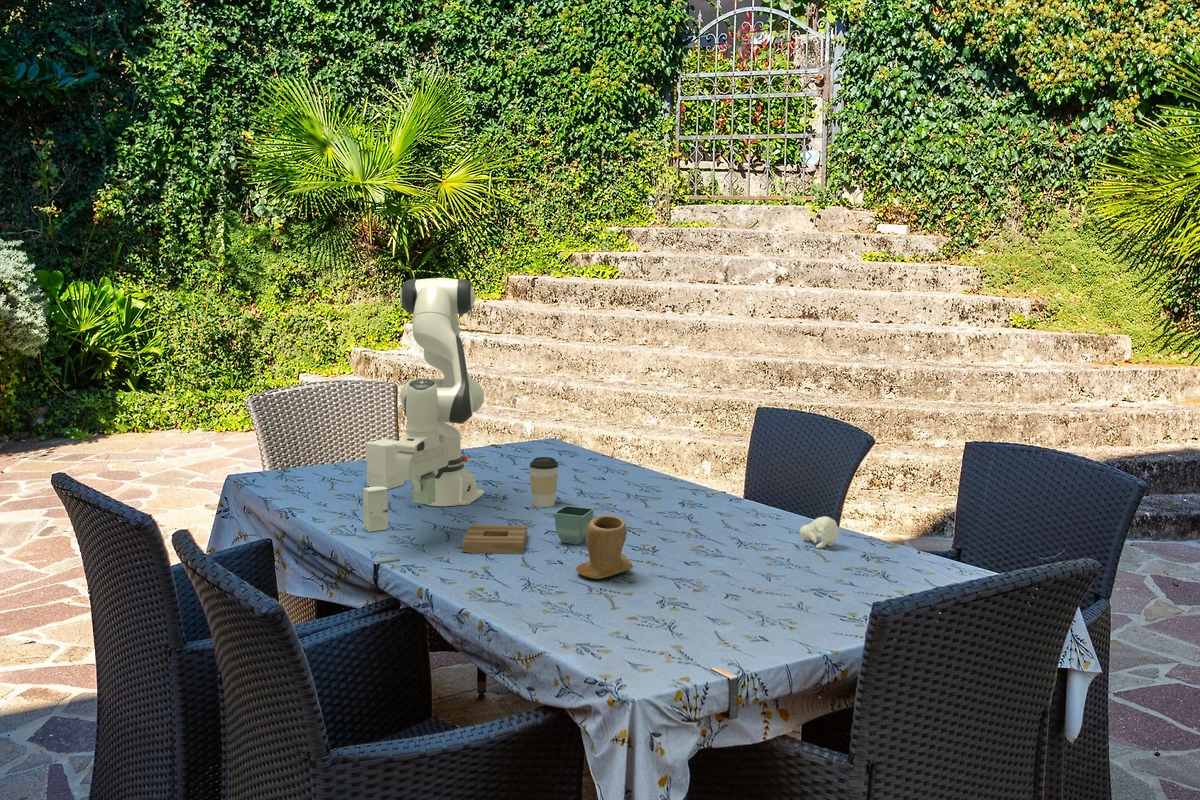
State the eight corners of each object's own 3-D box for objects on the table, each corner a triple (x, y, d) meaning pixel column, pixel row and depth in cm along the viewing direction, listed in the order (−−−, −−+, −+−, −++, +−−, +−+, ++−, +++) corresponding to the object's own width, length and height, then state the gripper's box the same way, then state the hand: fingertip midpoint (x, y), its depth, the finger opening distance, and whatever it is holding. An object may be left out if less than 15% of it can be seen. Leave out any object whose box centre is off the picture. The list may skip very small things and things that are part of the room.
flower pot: (594, 539, 306) (594, 508, 304) (583, 547, 297) (583, 516, 296) (564, 535, 309) (564, 505, 307) (553, 544, 300) (553, 512, 299)
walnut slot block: (470, 535, 308) (470, 525, 307) (526, 536, 308) (526, 525, 307) (463, 552, 292) (463, 541, 291) (522, 553, 292) (522, 542, 291)
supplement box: (405, 485, 364) (404, 441, 362) (386, 490, 357) (385, 445, 354) (385, 481, 369) (384, 438, 367) (366, 486, 362) (365, 442, 359)
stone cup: (601, 586, 266) (601, 527, 264) (569, 574, 275) (569, 517, 273) (645, 573, 277) (646, 516, 274) (613, 562, 285) (614, 506, 283)
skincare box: (368, 532, 309) (367, 491, 307) (363, 528, 313) (361, 487, 311) (389, 529, 313) (388, 488, 311) (383, 525, 316) (382, 485, 314)
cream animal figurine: (823, 520, 296) (793, 514, 306) (824, 551, 296) (793, 543, 306) (840, 516, 299) (809, 511, 309) (841, 547, 300) (810, 540, 310)
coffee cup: (524, 506, 339) (524, 459, 337) (536, 499, 347) (537, 453, 345) (550, 509, 336) (551, 462, 333) (562, 502, 344) (563, 456, 342)
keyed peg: (420, 499, 301) (419, 471, 300) (435, 501, 299) (435, 473, 298) (412, 502, 298) (412, 474, 297) (428, 504, 296) (427, 476, 295)
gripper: (434, 431, 306) (435, 479, 308) (391, 445, 288) (392, 496, 290) (453, 433, 303) (454, 481, 306) (411, 448, 285) (412, 499, 288)
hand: (423, 489), depth 298 cm, fingers closed on keyed peg, 3 cm apart
